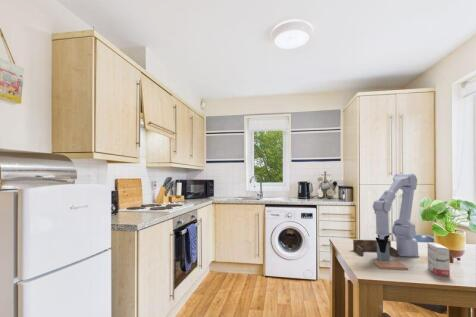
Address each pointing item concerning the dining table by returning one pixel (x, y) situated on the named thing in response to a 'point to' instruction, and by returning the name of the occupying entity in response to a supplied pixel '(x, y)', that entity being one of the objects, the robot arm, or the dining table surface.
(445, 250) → the ink box
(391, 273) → the dining table surface
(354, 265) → the dining table surface
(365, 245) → the wooden u-shaped rack
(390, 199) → the robot arm
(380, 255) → the block
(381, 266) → the tile
